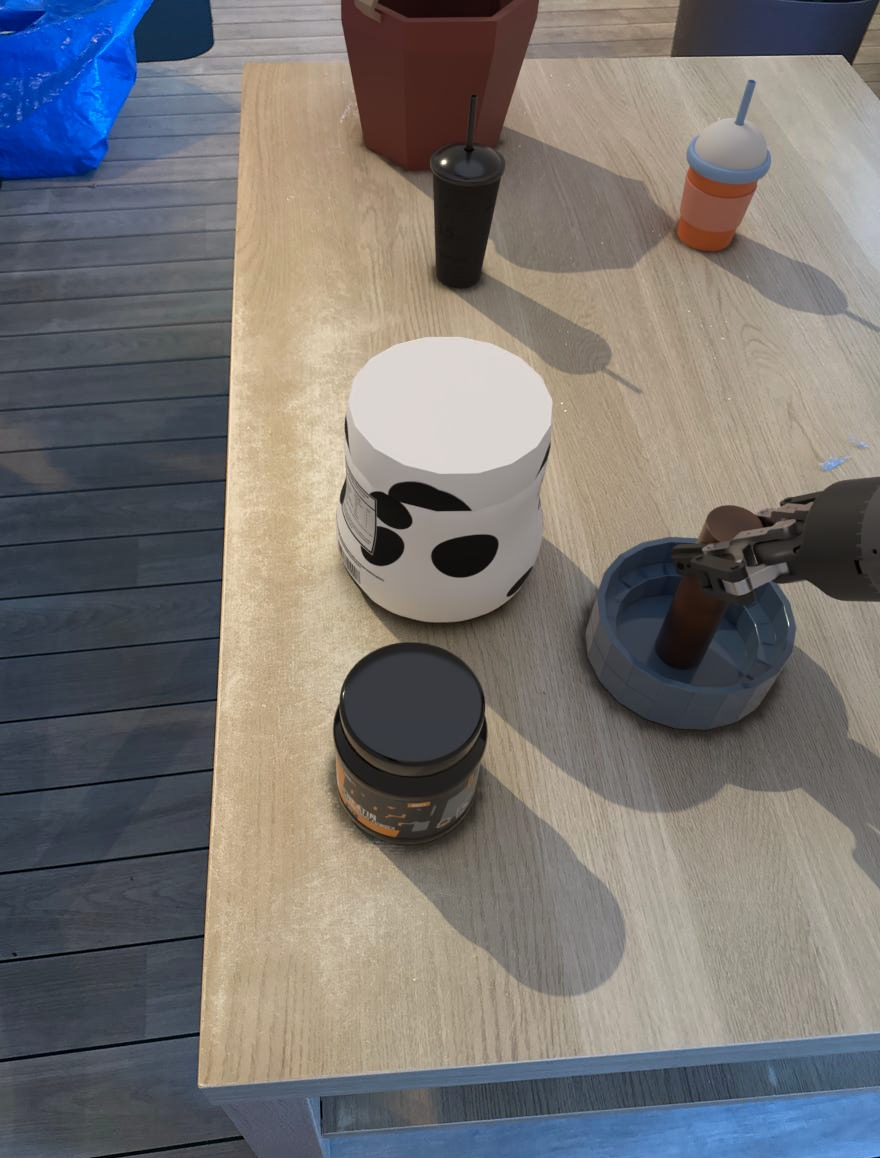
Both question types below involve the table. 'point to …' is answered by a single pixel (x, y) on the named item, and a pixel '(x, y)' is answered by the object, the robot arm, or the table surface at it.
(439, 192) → the drinking cup
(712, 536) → the brown cylinder
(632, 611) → the bowl
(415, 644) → the supplement container
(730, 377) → the table surface
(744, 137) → the cup with straw
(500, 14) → the bucket
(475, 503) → the milk container
